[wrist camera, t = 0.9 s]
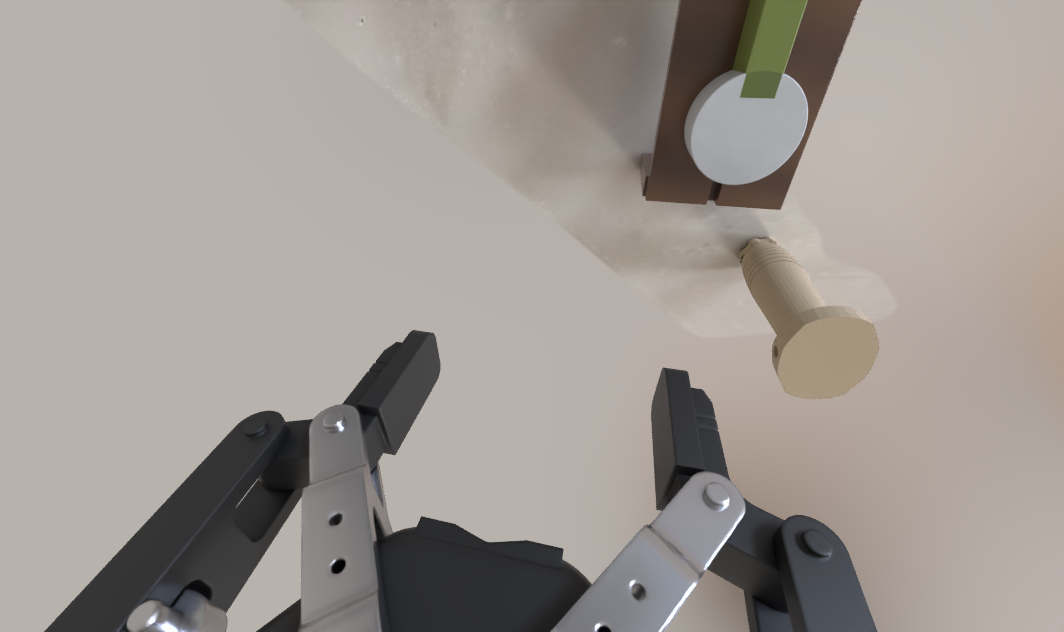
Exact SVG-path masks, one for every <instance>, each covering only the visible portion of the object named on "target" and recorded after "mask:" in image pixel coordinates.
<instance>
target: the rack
mask: <svg viewBox="0 0 1064 632" xmlns="http://www.w3.org/2000/svg"><path fill="white" fill-rule="evenodd" d="M861 2H862V0H808V1H807V4H806V7H805V10H804V13H803V16H802V19H801V22H800V25H799V28H798V32H797V35H796V38H795V41H794V44H793V47H792V50H791V53H790V56H789V59H788V62H787V65H786V68H785V71H784V74H786V75H788V76H790V77H791V78H793V79H794V80H795V81H796V82H797V83H798V84H799V86H800V87H801V88H802V90H803V92H804V94H805V97H806V100H807V105H808V120H807V125H806V129H805V132H804V135H803V137H802V139H801V141H800V143H799V145H798V147H797V148H796V150H795V151H794V152H793V154H792V155H791V156H790V157H789V159H788V160H787V161H786V162H785V163H784V164H783V165H781V166H780V167H779V168H778V169H777V170H775V171H774V172H772V173H771V174H769V175H767V176H766V177H764V178H762V179H759V180H757V181H754V182H751V183H747V184H741V185H727V184H722V183H718V182H715V181H713V180H711V179H709V178H708V177H706V176H705V175H704V174H703V173H702V172H701V171H700V170H699V169H698V167H697V166H696V164H695V162H694V161H693V159H692V157H691V155H690V153H689V152H688V149H687V147H686V143H685V137H684V128H685V121H686V118H687V114H688V112H689V109H690V107H691V105H692V103H693V101H694V100H695V98H696V97H697V96H698V94H699V93H700V92H701V91H702V89H703V88H704V87H706V86H707V85H708V84H709V83H710V82H711V81H713V80H714V79H715V78H717V77H718V76H720V75H722V74H724V73H726V72H728V71H731V70H732V69H733V65H734V61H735V57H736V53H737V49H738V46H739V42H740V38H741V34H742V30H743V26H744V22H745V19H746V15H747V11H748V7H749V3H750V0H680V1H679V6H678V12H677V18H676V23H675V29H674V35H673V41H672V46H671V52H670V58H669V63H668V69H667V75H666V80H665V86H664V92H663V98H662V103H661V109H660V115H659V120H658V126H657V132H656V138H655V143H654V149H653V154H643V155H642V161H641V168H640V174H641V185H642V196H645V197H646V200H647V201H660V202H675V203H690V204H704V205H705V204H707V200H712V201H714V202H715V204H716V205H718V206H732V207H747V208H762V209H776V210H780V209H781V207H782V204H783V202H784V199H785V197H786V194H787V192H788V189H789V186H790V184H791V181H792V179H793V176H794V173H795V171H796V168H797V166H798V163H799V160H800V158H801V156H802V153H803V150H804V148H805V145H806V143H807V140H808V138H809V135H810V132H811V130H812V127H813V125H814V122H815V120H816V117H817V115H818V112H819V109H820V107H821V104H822V102H823V99H824V96H825V94H826V91H827V89H828V86H829V84H830V81H831V79H832V76H833V73H834V71H835V68H836V66H837V63H838V61H839V58H840V56H841V53H842V51H843V48H844V45H845V43H846V40H847V38H848V35H849V32H850V30H851V27H852V25H853V22H854V20H855V17H856V14H857V12H858V10H859V7H860V4H861Z"/></svg>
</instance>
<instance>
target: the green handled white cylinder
mask: <svg viewBox="0 0 1064 632" xmlns="http://www.w3.org/2000/svg"><path fill="white" fill-rule="evenodd" d="M807 1H808V0H750V3H749V7H748V11H747V15H746V19H745V22H744V26H743V30H742V34H741V38H740V42H739V46H738V49H737V53H736V57H735V61H734V65H733V69H732V70H731V71H728V72H726V73H724V74H722V75H720V76H718V77H717V78H715V79H714V80H713V81H711V82H710V83H709V84H708V85H707V86H706V87H704V88H703V89H702V91H701V92H700V93H699V94H698V96H697V97H696V98H695V100H694V101H693V103H692V105H691V107H690V109H689V112H688V114H687V118H686V121H685V128H684V137H685V143H686V147H687V149H688V152H689V153H690V155H691V157H692V159H693V161H694V162H695V164H696V166H697V167H698V169H699V170H700V171H701V172H702V173H703V174H704V175H705V176H706V177H708V178H709V179H711V180H713V181H715V182H718V183H722V184H727V185H741V184H747V183H751V182H754V181H757V180H759V179H762V178H764V177H766V176H767V175H769V174H771V173H772V172H774V171H775V170H777V169H778V168H779V167H780V166H781V165H783V164H784V163H785V162H786V161H787V160H788V159H789V157H790V156H791V155H792V154H793V152H794V151H795V150H796V148H797V147H798V145H799V143H800V141H801V139H802V137H803V135H804V132H805V129H806V125H807V120H808V105H807V100H806V97H805V94H804V92H803V90H802V88H801V87H800V86H799V84H798V83H797V82H796V81H795V80H794V79H793V78H791V77H790V76H788V75H786V74H784V71H785V68H786V65H787V62H788V59H789V56H790V53H791V50H792V47H793V44H794V41H795V38H796V35H797V32H798V28H799V25H800V22H801V19H802V16H803V13H804V10H805V7H806V4H807Z"/></svg>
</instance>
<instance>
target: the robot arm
mask: <svg viewBox="0 0 1064 632" xmlns="http://www.w3.org/2000/svg"><path fill="white" fill-rule="evenodd" d="M439 373H440V359H439V354H438V348H437V342H436V337H435V335H434V333H430V332H423V331H416V330H413V331H411V332H410V333H409V334H408V336H407V337H406V338H405V340H404V341H403V343H401V342H396V343H395V344H393V345H392V346H390V347H389V348H387V349H386V350H384V352H383V353H382V354H381V355H380V357H379V358H378V359H377V360H376V363H374V364H373V366H372V367H371V368H370V370H369V372H367V373H366V375H365V376H364V377H363V378H362V380H361V381H360V382H359V383H358V385H357V386H356V387H355V389H354V390H353V391H352V392H351V394H350V395H349V396H348V398H347V399H346V400H345V401H344V403H343V404H341V405H335V406H332V407H329V408H327V409H325V410H323V411H322V412H320V413H319V414H318V415H317V416H316V417H315V418H314V419H310V420H300V421H290V422H285V420H284V418H283V417H282V415H281V414H280V413H278V412H275V411H263V412H259V413H256V414H253V415H251V416H249V417H247V418H246V419H244V420H243V421H241V422H240V423H239V424H238V425H237V426H236V427H235V428H234V429H233V430H232V431H231V432H230V433H229V434H228V435H227V436H226V437H225V438H224V440H223V441H222V442H221V443H220V444H219V445H218V446H217V447H216V448H215V449H214V450H213V451H212V452H211V454H209V456H208V457H207V458H206V459H205V460H204V461H203V462H202V463H201V464H200V465H199V466H198V467H197V468H196V470H195V471H194V472H193V473H192V474H191V475H190V476H189V477H188V478H187V479H186V480H185V481H184V482H183V483H182V484H181V486H180V487H179V488H178V489H177V490H176V491H175V492H174V493H173V494H172V495H171V496H170V498H169V499H167V501H166V502H165V503H164V504H163V505H162V506H161V507H160V508H159V509H158V510H157V512H155V513H154V515H153V516H152V517H151V518H150V519H149V520H148V521H147V522H146V523H145V524H144V525H143V526H142V527H141V528H140V530H139V531H138V532H137V533H136V534H135V535H134V536H133V537H132V538H131V539H130V540H129V541H128V542H127V544H126V545H125V546H124V547H123V548H122V549H121V550H120V551H119V552H118V553H117V554H116V555H115V556H114V557H113V558H112V560H111V561H110V562H109V563H108V564H107V565H106V566H105V567H104V568H103V569H102V570H101V571H100V572H99V574H98V575H97V576H96V577H95V578H94V579H93V580H92V581H91V582H90V583H89V584H88V585H87V586H86V587H85V589H84V590H83V591H82V592H81V593H80V594H79V595H78V596H77V597H76V598H75V599H74V601H72V602H71V603H70V605H69V606H68V607H67V608H66V609H65V610H64V611H63V612H62V613H61V614H60V615H59V616H58V617H57V619H56V620H55V621H54V622H53V623H52V624H51V625H50V626H49V627H48V628H47V629H46V630H45V631H44V632H226V630H227V616H226V612H227V611H228V609H229V608H230V606H231V605H232V603H233V601H234V600H235V598H236V597H237V595H238V594H239V592H240V591H241V589H242V588H243V586H244V585H245V583H246V581H247V580H248V578H249V577H250V575H251V574H252V572H253V571H254V569H255V568H256V566H257V565H258V563H259V561H260V560H261V558H262V557H263V555H264V554H265V552H266V551H267V549H268V547H269V546H270V544H271V543H272V541H273V540H274V538H275V537H276V535H277V534H278V532H279V531H280V529H281V527H282V526H283V524H284V523H285V521H286V520H287V518H288V517H289V515H290V514H291V512H292V510H293V509H294V507H295V506H296V504H297V503H298V501H299V500H300V498H301V497H302V538H301V540H302V542H301V545H302V546H301V599H299V600H298V601H297V602H295V603H294V604H293V605H291V606H290V607H289V608H287V609H286V610H285V611H283V612H282V613H281V614H279V615H278V616H276V617H275V618H274V619H272V620H271V621H270V622H268V623H267V624H266V625H264V626H263V627H262V628H260V629H259V630H258V631H256V632H664V631H665V630H666V628H667V627H668V625H669V624H670V622H671V621H672V619H673V618H674V617H675V615H676V614H677V612H678V611H679V609H680V608H681V606H682V604H683V603H684V602H685V600H686V599H687V597H688V596H689V595H690V593H691V591H692V590H693V589H694V587H695V586H696V584H697V583H698V582H699V580H700V579H701V577H702V575H703V574H704V572H705V571H706V570H707V569H708V570H710V571H711V572H713V573H715V574H717V575H718V576H720V577H722V578H724V579H725V580H727V581H729V582H731V583H732V584H734V585H736V586H738V587H739V588H741V589H743V590H744V596H745V602H746V609H747V616H748V622H749V629H750V632H877V630H876V627H875V624H874V621H873V619H872V616H871V613H870V611H869V608H868V605H867V602H866V600H865V597H864V594H863V591H862V589H861V586H860V583H859V581H858V578H857V575H856V572H855V569H854V567H853V564H852V561H851V559H850V556H849V553H848V551H847V549H846V547H845V545H844V544H843V542H842V541H841V540H840V538H839V537H838V536H837V535H836V534H835V533H834V532H833V531H832V530H831V529H830V528H828V527H827V526H825V525H824V524H823V523H821V522H819V521H817V520H816V519H813V518H810V517H807V516H803V515H795V516H791V517H788V518H787V519H786V520H783V519H780V518H778V517H776V516H774V515H772V514H770V513H768V512H766V511H764V510H762V509H760V508H758V507H756V506H754V505H752V504H751V503H750V502H748V501H747V500H746V499H745V498H743V496H742V494H741V492H740V491H739V490H738V488H737V487H736V486H735V485H734V484H733V483H732V482H731V481H730V478H729V475H728V471H727V467H726V462H725V458H724V453H723V449H722V444H721V440H720V436H719V432H718V427H717V422H716V420H715V413H714V409H713V405H712V402H711V401H710V399H709V398H708V397H707V395H706V394H705V392H704V391H703V390H702V389H695V388H691V387H690V381H689V375H688V372H687V371H683V370H676V369H670V368H663V369H662V371H661V374H660V378H659V381H658V384H657V388H656V391H655V394H654V398H653V402H652V410H651V421H652V438H653V455H654V473H655V491H656V508H657V510H661V511H662V512H661V513H660V514H659V515H658V516H657V517H656V519H655V520H654V521H653V522H652V523H651V524H650V525H645V526H644V527H643V528H642V529H641V530H640V531H639V532H638V533H637V534H636V535H635V536H634V537H633V539H632V540H631V541H630V542H629V543H628V544H627V545H626V546H625V548H624V549H623V550H622V551H621V552H620V553H619V554H618V556H617V557H616V558H615V559H614V560H613V561H612V562H611V564H610V565H609V566H608V567H607V568H606V569H605V570H604V572H603V573H602V574H601V575H600V576H599V577H598V578H597V580H596V581H595V582H594V583H593V584H591V583H590V582H589V581H588V579H587V578H586V577H585V576H584V575H583V574H582V573H581V572H580V571H579V570H577V569H576V568H575V567H573V566H572V565H571V564H569V563H568V562H566V561H564V560H562V556H563V549H562V548H558V547H553V546H549V545H544V544H540V543H536V542H531V541H509V542H492V543H491V542H486V541H484V540H482V539H480V538H478V537H476V536H475V535H473V534H471V533H469V532H468V531H466V530H464V529H463V528H461V527H459V526H457V525H456V524H452V523H448V522H443V521H439V520H435V519H431V518H426V517H421V518H420V521H419V523H418V525H417V527H412V528H407V529H403V530H400V531H397V532H395V533H393V532H392V528H391V525H390V521H389V518H388V513H387V508H386V502H385V497H384V491H383V485H382V479H381V473H380V467H379V463H378V461H379V459H380V458H381V456H382V454H383V453H387V454H392V455H395V454H396V453H397V451H398V449H399V448H400V446H401V444H402V442H403V440H404V439H405V437H406V435H407V433H408V431H409V430H410V428H411V426H412V424H413V422H414V420H415V419H416V417H417V415H418V414H419V412H420V410H421V408H422V406H423V405H424V403H425V401H426V399H427V398H428V396H429V394H430V392H431V390H432V388H433V387H434V384H435V383H436V381H437V379H438V377H439ZM257 479H258V480H257ZM256 480H257V482H256V483H255V481H256ZM254 483H255V484H254ZM253 484H254V486H253V487H252V488H251V486H252V485H253ZM250 488H251V489H250ZM249 489H250V491H249V492H248V490H249ZM247 492H248V493H247ZM246 493H247V495H246V496H245V497H244V495H245V494H246ZM243 497H244V499H243V500H242V501H241V499H242V498H243ZM240 501H241V502H240ZM239 502H240V504H239V505H238V503H239ZM237 505H238V506H237ZM236 507H237V508H236ZM235 508H236V509H235Z"/></svg>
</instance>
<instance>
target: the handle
mask: <svg viewBox="0 0 1064 632" xmlns="http://www.w3.org/2000/svg"><path fill="white" fill-rule="evenodd" d="M739 259H740V263H742V270H743V275H744V278H745V280H746V283H747V286H748V288H749V290H750V292H751V294H752V296H753V298H754V300H755V301H756V303H757V304H758V306H759V307H760V309H761V310H762V312H763V314H764V315H765V317H766V318H767V320H768V321H769V323H770V325H771V326H772V328H773V329H774V331H775V333H776V334H777V337H776V338H775V340H774V342H773V347H772V362H773V365H774V368H775V371H776V373H777V376H778V378H779V380H780V382H781V385H782V387H783V389H784V391H785V392H786V393H788V394H790V395H792V396H795V397H800V398H805V399H826V398H833V397H837V396H841V395H843V394H846V393H847V392H848V391H849V390H851V389H852V388H853V387H854V386H856V385H857V384H858V383H859V382H860V381H862V380H863V379H864V378H865V377H866V376H867V374H868V373H869V371H870V370H871V368H872V366H873V364H874V361H875V359H876V357H877V354H878V351H879V342H878V338H877V334H876V331H875V328H874V324H873V323H872V322H871V321H870V320H869V319H868V318H867V317H866V316H865V315H864V314H863V313H861V312H859V311H857V310H855V309H852V308H849V307H843V306H826V305H825V303H824V302H823V300H822V298H821V297H820V295H819V294H818V292H817V290H816V289H815V287H814V285H813V284H812V282H811V280H810V279H809V277H808V275H807V274H806V272H805V270H804V269H803V268H802V266H801V265H800V264H799V263H798V262H797V260H796V259H795V258H794V257H793V256H792V255H791V254H790V253H789V252H788V251H786V250H785V249H784V248H782V247H781V246H779V245H777V242H776V241H775V240H774V239H772V238H769V237H766V238H764V239H756V238H753V239H751V240H750V241H749V243H748V245H747V246H746V247H745V248H744V249H743V250H741V251H740V253H739Z"/></svg>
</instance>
